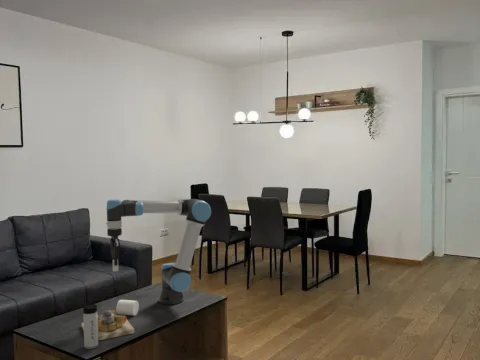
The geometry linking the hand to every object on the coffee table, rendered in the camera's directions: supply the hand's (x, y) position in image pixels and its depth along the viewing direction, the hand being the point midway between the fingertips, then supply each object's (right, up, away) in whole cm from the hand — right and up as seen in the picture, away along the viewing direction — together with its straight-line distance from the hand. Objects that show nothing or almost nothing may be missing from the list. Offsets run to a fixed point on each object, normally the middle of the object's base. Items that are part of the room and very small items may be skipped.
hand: (115, 270), depth 240 cm
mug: (+5, -26, +9) cm, 28 cm away
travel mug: (-2, -29, -34) cm, 44 cm away
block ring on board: (0, -27, -14) cm, 31 cm away
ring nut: (+1, -25, -14) cm, 29 cm away
